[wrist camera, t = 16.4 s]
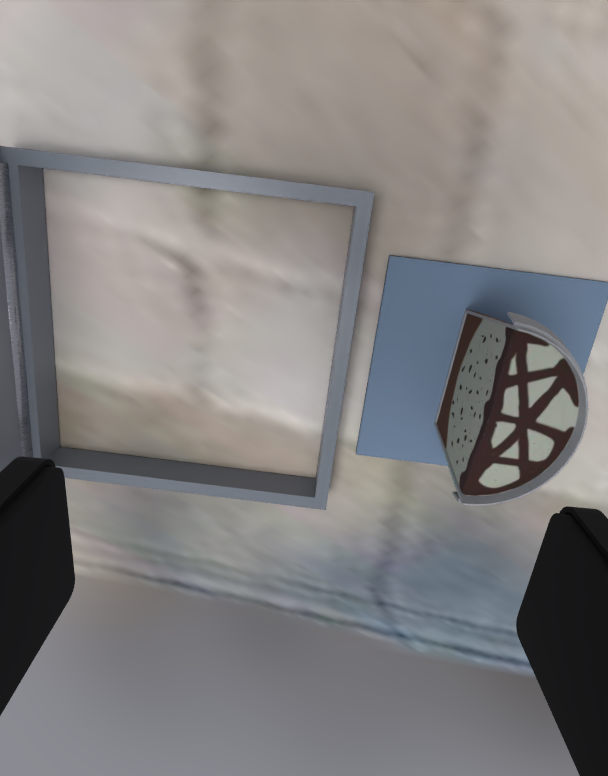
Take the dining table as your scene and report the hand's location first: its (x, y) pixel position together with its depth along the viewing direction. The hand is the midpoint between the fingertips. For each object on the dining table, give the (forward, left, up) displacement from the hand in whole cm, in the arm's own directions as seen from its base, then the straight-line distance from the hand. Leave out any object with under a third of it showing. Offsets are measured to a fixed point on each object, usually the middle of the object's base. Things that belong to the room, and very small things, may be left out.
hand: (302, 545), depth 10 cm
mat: (+5, +13, -29) cm, 32 cm away
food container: (+5, +14, -29) cm, 33 cm away
